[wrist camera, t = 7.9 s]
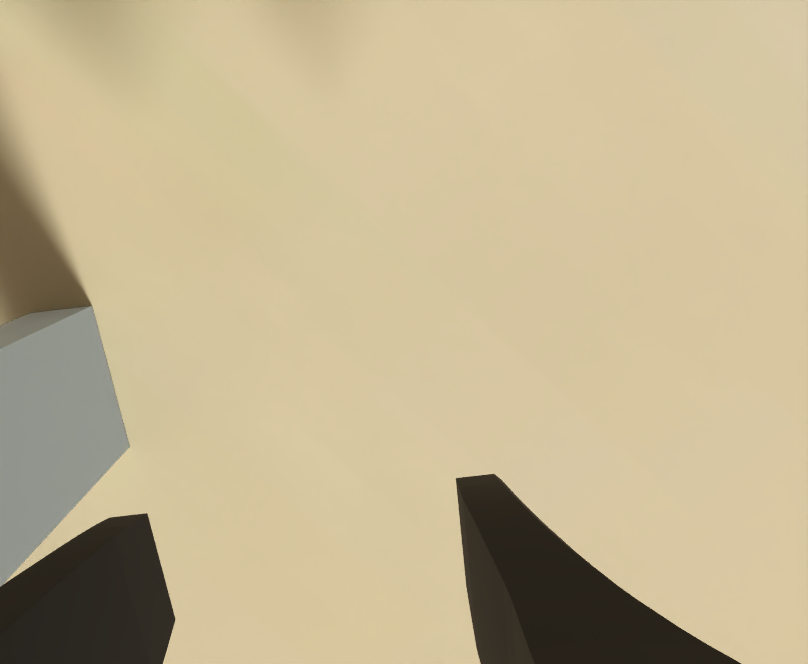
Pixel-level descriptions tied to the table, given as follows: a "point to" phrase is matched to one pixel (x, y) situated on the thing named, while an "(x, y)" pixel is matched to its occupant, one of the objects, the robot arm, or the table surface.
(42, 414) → the blue domino
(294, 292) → the table surface
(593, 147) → the table surface
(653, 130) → the table surface
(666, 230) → the table surface
